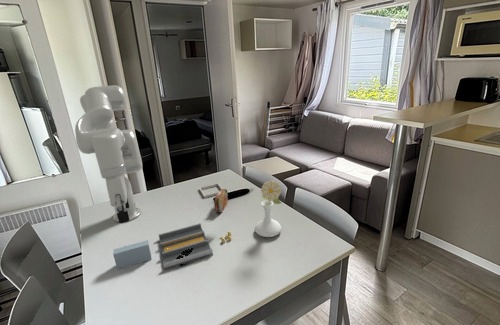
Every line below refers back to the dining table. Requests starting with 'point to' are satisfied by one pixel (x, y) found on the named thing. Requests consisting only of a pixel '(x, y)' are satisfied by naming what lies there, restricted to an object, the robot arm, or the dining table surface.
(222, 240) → the dice set
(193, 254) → the rack
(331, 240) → the dining table surface
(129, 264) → the blue-grey rectangular block
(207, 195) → the beige square frame
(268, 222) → the flower in vase
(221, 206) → the tin
